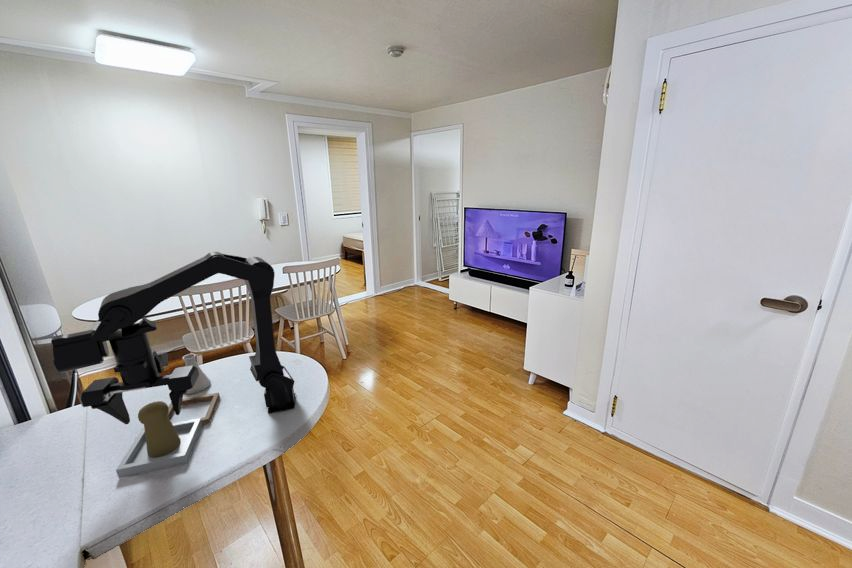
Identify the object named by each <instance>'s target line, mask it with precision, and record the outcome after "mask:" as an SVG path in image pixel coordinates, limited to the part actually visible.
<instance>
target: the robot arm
mask: <svg viewBox="0 0 852 568" xmlns="http://www.w3.org/2000/svg"><path fill="white" fill-rule="evenodd" d="M217 274H222V275H226V276H228V277H232V278H236V279H238V280H244V283H245V286H246V289H247V291H248V293H249V294H248V295H250V301H251V311H252V319H253V320H252V321H253V328H254V337H255V345H256V349H255V350H256V351H255V354H254V355H249V356H248V359H249V362H250V368H249V370H250V373H251V374H252V376H253V378H254V381H256V382H258V383H259V385H260V386H261V387H262V388H265V389H264V393H263V396H264V403H265V407H266V408H267V413H268V414H273V413H279V412H282V411H283V412H284V411H288V410H293V409H295V408H296V397H295V395H297V394H296V392H295V389H294V386H295V380H294V378H293V377H292V375H291V374H290V373H289V371H288V370H287V368H286V367H285V366H284V365H282V364H281V360H280V359H279V356H278V354H277V351H276V344H275V342H276V341H275V335H274V334H275V333H274V324H273V322H274V321H273V313H272V303H271V302H272V301H271V296H272V293H273V289H274V285H275V283H274V282H275V270H274V267H273V266H272V265H271V264H269V263H268V262H267V261H266V260H264V259H263V258H261V257H259V256H250V257H248V258H246V257H242V256H240V255H239V256H238V255H233V254H232V255H231V254H225V253H222V252H219V251H211V252H208V253H207V254H206V255H204V256H202V257H201V258H199V259H196V260H193V261H192V262H190V263H188V264H186V265H184V266H182V267H179V268H177V269H175V270H173V271H172V272H170V273H167V274H165V275H163V276H161V277H159V278H157V279H154V280H152V281H150V282H148V283H144V284H141V285H136V286H131V287H128V288H124V289H121V290H117V291H115V292H112V293H109V294H108V295H106V296H104V298H103V299H102V301H101V304H100V307H99V310H98V314H97V315H98V319H97V321H95V322H94V324H93V327H92V329H88V330H84V331H78V332H73V333H67V334H66V333H63V334H59V335H54V336H53V337H52V339H51V340H50V342H51V345H52V354H53V364H54V367H55V368H56V371H57V372H58V373H60V374H63V373H68V372H71V371H77V370H80V369H84V368H88V367H91V366H96V365H100V364H103V362H104V361H105V360H104V358H106V357H109V356H110V351H109V346H108V343H109V345H110V348H111V351H112V354H113V357H114V361H115V363H116V365H115V366H114V367H113V371H114V373H115V374H116V373H119V375H120V378H121V381H122V382H120V379H119V378H118V377H115V376H113V377H112V376H111V377H106V378H99V379H94V380H93V381H92V382H91V383H90V384H89V385H88V386H87V387H86V388H85V389H84V390H83V391H82V392H81V393H80V394H79V402H80V404H81V406H82V407H83V408H88V407H90V408H91V410H96V409H97V410H99V411H102V412H103V413H106V414H108V415H110V416H112V417H113V418H115V419H116V420H118V421H119V422H121V423H123V424H124V425H128V424H130V422H131V420H130V419H131V418H130V414H129V412H128V409H127V407H126V404H125V401H124V398H123V393H126V392H131V391H137V390H138V391H139V390H143V389H144V390H145V389H149V388H156V387H161V386H167V387H168V390H169V393H168V396H169V400H170V403H171V402H172V406H173V409H174V413H175V414H176V416H179V415H180V413H181V409H182V406H181V405H182V399H184V395H185V394H187V393H186V392H187V390H189V389H191V388H193V386H194V384H195V382H196V380H197V378H198V376H199V371H198V368H196V367H195V366H194V365H192V366H185V365H184V366H179V367H175V368H174V369H173V371H172V373H171V374H166V375H162V376H160V374H162V373H163V372H164V371H165V367H169V356H168V352H167V351H164V352H157V351H156V350H155V349H153V350H152V345H151V344H150V339H149V337H148V333H151V332H155V331H157V321H153V320H151V319H148V318H147V317H145V316H147V315H148V314H149V313H151V311H153V309H154V308H156V306H158V305H159V304H160V303H163V302H164V301H166V300H168V299H170V298H172V297H174V296H175V295H178V294H180V293H181V292H184V291H186V290H188V289H190V288H191V287H194V286H195V285H198V284H200V283H201V282H203V281H205V280H207V279H210V278H211V277H212V276H213V277H214V276H215V275H217ZM138 321H139V322H138ZM107 342H108V343H107Z"/></svg>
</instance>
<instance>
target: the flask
mask: <svg viewBox="0 0 852 568" xmlns="http://www.w3.org/2000/svg"><path fill="white" fill-rule="evenodd" d="M196 357H197V355H196V353H192V352H191V353H188V354H185V355H183V356H182V361H184V364H185V365H184V367H185V366H192V365H194V366H195V367H196V368H198V371H199V376H198V378H197V380H196V382H195V384H194V386H193V388H191V389H189V390H187V392H186V393H185V394H187V395H193V394H195V393H199V392H202V391H204V390H206V389H207V388H208V387H210V386H211V385H212V382H211V379H210V378H209V377H208V376H207V374H206V373H205V372H204V371H203V370H202V369H201V367H200V366H199V364H198V363H197V360H196Z"/></svg>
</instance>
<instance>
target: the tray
mask: <svg viewBox="0 0 852 568" xmlns="http://www.w3.org/2000/svg"><path fill="white" fill-rule="evenodd" d="M201 418H202V417H200V418H193V419H189V420H183V421H177V422H173V423H172V422H171V423H172V425H173V426H174V428H175V430H176V432H177V434H178V436H179V438H180V440H181V443H180V445H179V446H178V447H177V448H176V449H175V450H174V451H173V452H171V453H169V454H167V455H165V456H162V457H158V458H152V457H149V456H148V453H147V445H146V437H145V429H144V428H141V430H140V431H139V433H138V434H137V436H136V437H135V439H134V440H133V442H132V444H131V445H130V446H129V449H128V450H127V451H126V453H125V455H124V456H123V458H122V459H121V461H120V463H118V464H119V465H118V466H117V467H116V468H115V472H116V474H117V477H118V479H123V478H127V477H128V478H129V477H131V476H135V475H140V474H146V473H150V472H154V471H159V470H164V469H168V468H172V467H177V466H182V465H185V464H188V462H189V460H190V457H191V455H192V452H193V450H194V447H195V445H196V442H197V440H198V438H199V436H200V433H201V430H202V429H203V426H204V425H203V424H202V421H201Z"/></svg>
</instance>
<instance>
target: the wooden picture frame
mask: <svg viewBox="0 0 852 568" xmlns="http://www.w3.org/2000/svg"><path fill="white" fill-rule="evenodd" d="M220 398H221V396H220V392H213V393H208V394H203V395H197V396H192V397H183V399H182V405H181V407H183V406H190V405H195V404H200V403H206V402H207V403H208V402H210V404H209V406H208V409H207V411H206V414H205V416H204V417H200V418H201V421H202V424H203V426H207V425H210V424H211V422H212V420H213V417H214V414H215V411H216V408H217V406H218V403H219V401H220ZM168 408H169V413H168V417H169V419H170V420H171V419H172V416H173V414H174V413H175V411H174V409H173V406H172V402H171V401H170V404H169V405H168Z"/></svg>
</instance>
